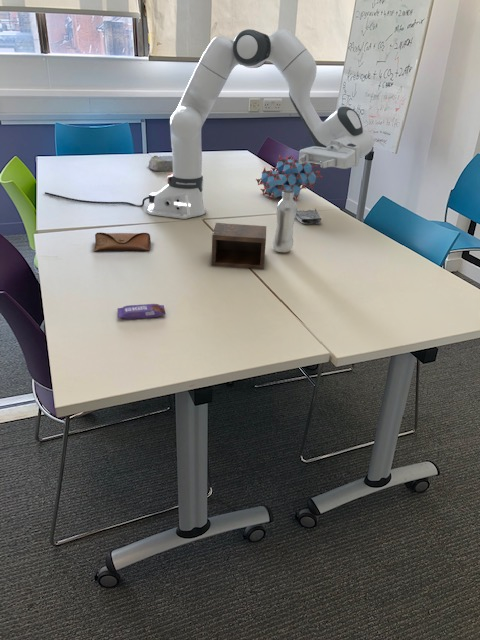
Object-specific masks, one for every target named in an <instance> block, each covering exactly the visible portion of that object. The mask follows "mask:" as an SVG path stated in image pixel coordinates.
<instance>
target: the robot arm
mask: <svg viewBox="0 0 480 640" xmlns="http://www.w3.org/2000/svg"><path fill="white" fill-rule="evenodd" d="M267 62H269V63H271V64H272V65H273V66H274V67H275V68H276V69H277V70H278V72H279V73H280V74H281V75H282V77H283V78H284V80H285V82H286V84H287V88H288V97H289V99H290V102H291V104H292V105H293V107H294V110H295V111H296V113H297V114H298V116H299V118H300V120H301V121H302V123H303V124H304V126H305V128H306V130H307V131H308V133H309V135H310V138H311V142H312V143H313V146H309V147H305V148H301V149H300V150H299V152H298V156H299V158H297V160H299V163H300V164H303V163H305V162H309V163H312V164H314V163H315V164H316V165H320V168H321V169H327V168H338V169H341V170H342V169H343V170H347V169H351V168H355V167H358V166H359V164H360V159H362V158H364V157H365V156H367V155H368V154H370V152H371V151H372V150H373V147H374V144H375V139H374V136H373V134H372V132H371V131H369V129H368V130H367V129H366V128H365V127H363V124H362V120H361V117H360V115H359V114H358V113H357V111H356V110H354V108H352V107H349V106H340V107H339V108H337V109H336V110H335V111H334V112H332V113H331V114H330V115H329V116H328V117H327V118H326V119H325V120H324V121H323V120H321V117H320V116H319V114H318V112H317V111H316V109H315V107H314V105H313V104H312V101H311V91H312V87H313V85H314V83H315V80H316V77H317V69H318V67H317V63H316V60H315V59H314V56H313V55H312V54H311V52H310V51H309V49H308V48H307V47H306V46H305V45H304V43H303V42H302V41H301V40H300V39H299V38H298V37H297V36H296V35H295V34H294V33H293V32H292V31H290V30H289V29H288V28H283V27H282V28H279V29H277V30H274V32H273V33H272V34H271V35H268V34H266V33H263V32H261V31H258V30H255V29H251V28H250V29H249V28H247V29H243V30H241V31H240V32H238V34H237V35H236V36H235V38H234V40H233V39H231V38H229V37H228V36H224V35H218V36H215V37H214V38H213V39H212V40H211V41H210V43H209V44H208V46H207V47H206V49H205V51H203V53H202V55H201V57H200V59H199V61H198V63H197V64H196V67H195V69H194V71H193V73H192V75H191V77H190V79H189V81H188V84H187V86H186V88H185V90H184V93H183V95H182V97H181V99H180V101H179V103H178V106H177V107H176V109H175V111H174V112H173V113H172V114H171V116H170V119H169V131H170V144H171V145H170V146H171V154H172V155H171V156H173V171H172V172H169V174H168V175H167V184H166V185H165V186H164V187H162V188H161V189H160V190H158V191H157V192H153V191H152V192H151V193H150V194H148V196H146V197H144V198H143V199H142V203H141V204H140V205H137V204H135V203H131V202H129V201H96V200H95V201H94V200H84V199H77V198H72V197H67V196H63V195H59V194H54V193H50V192H46V191H45V192H44V194H45V195H48V196H52V197H56V198H61V199H64V200H68V201H74V202H78V203H85V204H86V203H87V204H101V205H103V204H106V205H116V204H117V205H122V204H123V205H129V206H133V207H138V208H142V207H144V206H145V201H147V200H148V203H150V204H149V206H148V208H147V214H148V215H151V216H159V217H164V218H165V217H167V218H173V219H180V220H181V219H182V220H186V219H190V218H196V217H200V216H202V215H204V214H206V211H207V210H206V208H205V204H204V197H203V190H204V176H203V149H202V128H203V126H204V124H205V122H206V120H207V118H208V116H209V115H210V113H211V111H212V109H213V107H214V105H215V104H216V102H217V100H218V98H219V95H220V94H221V92H222V90H223V88H224V86H225V84H226V83H227V80H228V79H229V77H230V75H231V73H232V71H233V70H234V69H235V67H236V66H238V65H240V66H244V67H245V68H248V69H257V68H260V67H262V66H264V65H265V64H266V63H267Z"/></svg>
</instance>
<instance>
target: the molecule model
mask: <svg viewBox="0 0 480 640" xmlns="http://www.w3.org/2000/svg"><path fill="white" fill-rule="evenodd" d="M314 167H316V168H318V165H317V164H315V163H309V162H305V163H303V164H300V163H299V160H298V159H294V156H293V155H291V156H286V158H282V156H281V155H279V157H278V160H276V166H275V167H270V169H269V170H266V166H264V167H263V170H262V171H261V176H260V178H258V179H257V178H255V181H256V182H257V185H258V186H260V185H263V188H260V191H261V192H262V195H263V196H265V195H268V199H269V200H271V199H276V198H279V197H282V191H283V190H292V191H294V198H295V201H298V198H299V196H301V193H300V192H301V190H302V189H307V186H310V187H311V188H310V189H311V190H313V188H314V185H316V180H317V178H322V177H323V176H322V175H321V171H319V170H317V171H313V168H314Z"/></svg>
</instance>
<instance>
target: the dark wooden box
mask: <svg viewBox="0 0 480 640" xmlns="http://www.w3.org/2000/svg"><path fill="white" fill-rule="evenodd" d="M266 242H267V226H266V225H255V224H254V225H253V224H240V223H223V222H222V223H221V222H215V225H214V228H213V231H212V235H211V266H212V267H222V268H223V267H225V268H239V269H253V270H265V257H266Z"/></svg>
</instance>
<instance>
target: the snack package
mask: <svg viewBox="0 0 480 640" xmlns="http://www.w3.org/2000/svg"><path fill="white" fill-rule="evenodd" d="M116 309H117V318H118V319H124V320H138V319H151V318H159V317H161V316H165V315H167V313H166V309H165V305H164V304H159V303H146V304H131V305H125V306H122V307H117V308H116Z"/></svg>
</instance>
